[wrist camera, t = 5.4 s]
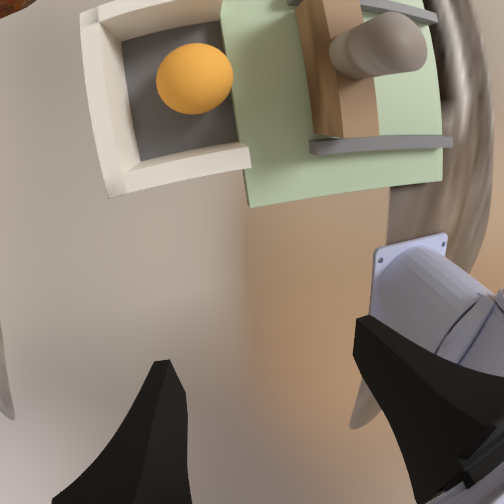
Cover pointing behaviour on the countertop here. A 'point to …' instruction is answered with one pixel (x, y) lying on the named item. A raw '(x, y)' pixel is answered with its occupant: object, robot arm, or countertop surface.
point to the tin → (13, 6)
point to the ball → (194, 78)
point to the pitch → (248, 104)
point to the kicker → (352, 62)
